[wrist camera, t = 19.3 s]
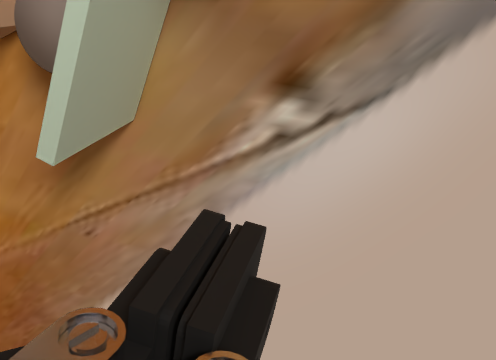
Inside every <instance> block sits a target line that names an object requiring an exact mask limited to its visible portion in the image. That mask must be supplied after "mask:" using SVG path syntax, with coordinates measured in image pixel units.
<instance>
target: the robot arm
mask: <svg viewBox="0 0 496 360" xmlns="http://www.w3.org/2000/svg"><path fill="white" fill-rule="evenodd" d="M230 229H231V223H230V222H227V221H225V215H223V214H220V213H216V212H213V211H209V210H206V209H204V210H203V211H202V212H201V213H200V215H199V216H198V217H197V219H196V220H195V221H194V222H193V224H192V225H191V226H190V228H189V229H188V230H187V231H186V233H185V234H184V235H183V237H182V238H181V239H180V241H179V242H178V243H177V244H176V246H175V247H174V248H173V250H172V251H169V250H166V249H163V248H159V249H157V250H156V251H155V252H154V253H153V255H152V256H151V257H150V258H149V260H148V261H147V262H146V263H145V264H144V266H143V267H142V268H141V269H140V270H139V272H138V273H137V274H136V275H135V276H134V278H133V279H132V280H131V281H130V282H129V284H128V285H127V286H126V287H125V288H124V290H123V291H122V292H121V293H120V294H119V296H118V297H117V298H116V299H115V300H114V302H113V303H112V304H111V305H110V306H109V308H108V309H107V310H106V309H103V308H93V307H90V308H82V309H78V310H75V311H72V312H69V313H67V314H66V315H64V316H63V317H61V318H59V319H58V320H57V321H56V322H55V323H53V324H52V325H51V326H50V327H48V328H47V329H46V330H45V331H43V332H42V333H41V334H40V335H38V336H37V337H36V338H35V339H33V340H32V341H31V342H30V343H29V344H27V345H26V346H23V347H19V348H15V349H11V350H7V351H3V352H0V360H260V357H261V354H262V351H263V347H264V345H265V341H266V338H267V335H268V332H269V328H270V325H271V321H272V317H273V314H274V310H275V306H276V302H277V298H278V294H279V290H280V284H277V283H273V282H270V281H267V280H264V279H260V278H257V277H256V276H257V271H258V266H259V262H260V257H261V253H262V248H263V243H264V239H265V234H266V227H265V226H262V225H258V224H255V223H251V222H248V221H246V222H245V223H244V225H243V226H241V225H238V224H237V225H235V227H234V229H233V230H232V232H231V234H230Z"/></svg>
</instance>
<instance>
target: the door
mask: <svg viewBox="0 0 496 360" xmlns="http://www.w3.org/2000/svg"><path fill="white" fill-rule="evenodd" d="M169 3H170V0H67V2H66V7H65V12H64V17H63V22H62V27H61V32H60V37H59V42H58V48H57V53H56V58H55V63H54V68H53V73H52V78H51V83H50V88H49V93H48V98H47V103H46V108H45V113H44V119H43V124H42V129H41V134H40V139H39V144H38V149H37V154H36V157H37V158H39V159H40V160H42V161H44V162H46V163H48V164H50V165H52V166H54V165H56V164H58V163H60V162H61V161H63V160H65V159H67V158H68V157H70V156H72V155H74V154H75V153H77V152H79V151H81V150H82V149H84V148H86V147H88V146H89V145H91V144H93V143H95V142H96V141H98V140H100V139H102V138H103V137H105V136H107V135H109V134H110V133H112V132H114V131H115V130H117V129H119V128H121V127H122V126H124V125H126V124H128V123H129V122H131V121H133V120H134V118H135V114H136V111H137V108H138V105H139V101H140V98H141V95H142V91H143V88H144V85H145V82H146V78H147V75H148V72H149V68H150V65H151V62H152V59H153V55H154V52H155V49H156V45H157V42H158V39H159V36H160V32H161V29H162V26H163V22H164V19H165V16H166V13H167V9H168V6H169Z"/></svg>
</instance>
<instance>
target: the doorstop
mask: <svg viewBox="0 0 496 360" xmlns="http://www.w3.org/2000/svg"><path fill="white" fill-rule="evenodd" d="M66 2H67V0H16V2H15V8H14V20H15V26H16V31H17V34H18V37H19V39H20V41H21V44H22V45H23V47H24V49H25V51H26V52H27V53H28V55H29V56H30V57H31V58H32V59H33V61H35V62H36V63H37V64H38V65H39V66H40V67H42V68H43V69H45V70H47V71H48V72H51V73H53V68H54V63H55V58H56V53H57V48H58V42H59V37H60V32H61V27H62V22H63V17H64V12H65V7H66Z"/></svg>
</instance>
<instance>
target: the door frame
mask: <svg viewBox="0 0 496 360" xmlns="http://www.w3.org/2000/svg"><path fill="white" fill-rule="evenodd" d="M15 2H16V0H0V38H3V37H4V36H6V35H8V34H10V33H12V32H14V31H16V26H15V20H14V8H15Z"/></svg>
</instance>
